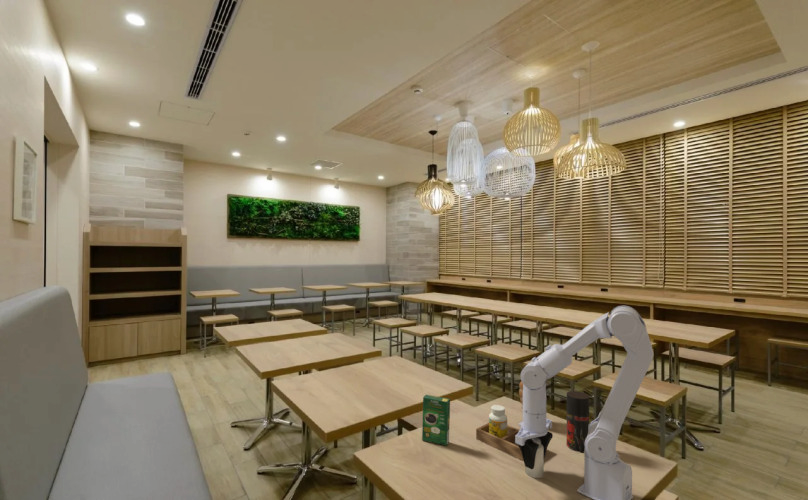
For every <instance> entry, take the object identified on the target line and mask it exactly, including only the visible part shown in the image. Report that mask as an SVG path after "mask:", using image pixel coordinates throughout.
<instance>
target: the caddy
mask: <svg viewBox="0 0 808 500" xmlns="http://www.w3.org/2000/svg"><path fill="white" fill-rule="evenodd" d="M519 430H520V429H519V428H516V427H514V426H512V425H510V424H507V435H506V436H504V437H503V438H499V437H497V436H494V435H492V434H490V433H489V422H488V423H486V424H483V425H481V426H480V427H478V428H476V429H475V434H476V435H475V436H476V437H475V438H476V440H477V441H480V442H481V443H484V444H486V445H488V446H490V447H492V448H495V449H497V450H499V451H501V452H503V453H505V454H507V455H510V456H512V457H513V458H516V459H518V460H520V461H522V462H524V460H523V456H522V453H521V450H520V448H519V446H518V444H516V443H515V435H517V434H518V432H519Z"/></svg>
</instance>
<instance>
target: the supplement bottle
mask: <svg viewBox="0 0 808 500" xmlns="http://www.w3.org/2000/svg"><path fill="white" fill-rule="evenodd" d="M488 423H489V433H490V434H492V435H494V436H497V437H499V438H503V437H504V436H506V435H507V425H508V416H507V415H506V407H504V406H502V405H499V404H494V405H491V407H490V413H489V415H488Z"/></svg>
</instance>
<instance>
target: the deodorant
mask: <svg viewBox="0 0 808 500" xmlns="http://www.w3.org/2000/svg"><path fill="white" fill-rule="evenodd" d="M589 424H590V395H589V394H587V393H585V392H583V391H577V390H576V391H575V390H570V391H568V392H566V446H567V448H569V449H570V450H572V451H575V452H577V453H584V449H585V440H586V438H587V435H588V428H589Z"/></svg>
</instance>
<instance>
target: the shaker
mask: <svg viewBox="0 0 808 500" xmlns="http://www.w3.org/2000/svg"><path fill="white" fill-rule="evenodd" d="M532 440H533V442H535V443H537V444H539V447H538V449H537V452H536V456H535V465H534V468H533V469H530V468H528V467H526V466H525V465H524V466H525V467H524V471H525V474H526V475H527V476H528V477H529V478H533V479H541V478H543V477H544V472H545V471H544V467H545V466H544V461H545V458H544V447H543V445H542V444H541V440H540V439H539V438H532Z"/></svg>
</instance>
